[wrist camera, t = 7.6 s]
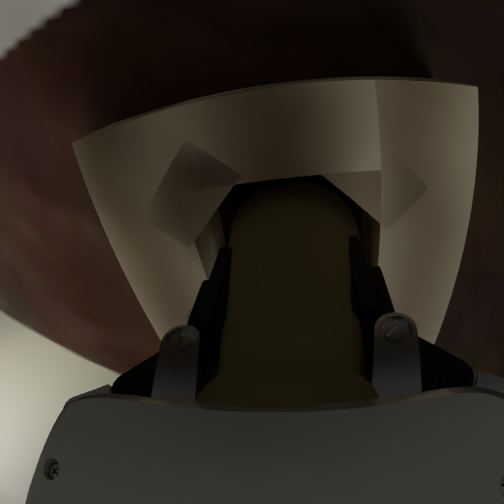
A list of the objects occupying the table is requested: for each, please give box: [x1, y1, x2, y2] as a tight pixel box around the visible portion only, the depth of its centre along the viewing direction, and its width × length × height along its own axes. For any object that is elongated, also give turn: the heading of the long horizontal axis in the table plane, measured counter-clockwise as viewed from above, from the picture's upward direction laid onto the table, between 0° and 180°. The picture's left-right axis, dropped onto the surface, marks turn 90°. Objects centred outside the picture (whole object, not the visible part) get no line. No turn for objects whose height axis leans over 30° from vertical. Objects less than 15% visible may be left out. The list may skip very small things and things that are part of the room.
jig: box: [72, 76, 478, 344], centre depth 14 cm, size 16×14×4 cm
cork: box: [195, 181, 380, 408], centre depth 9 cm, size 6×6×11 cm
